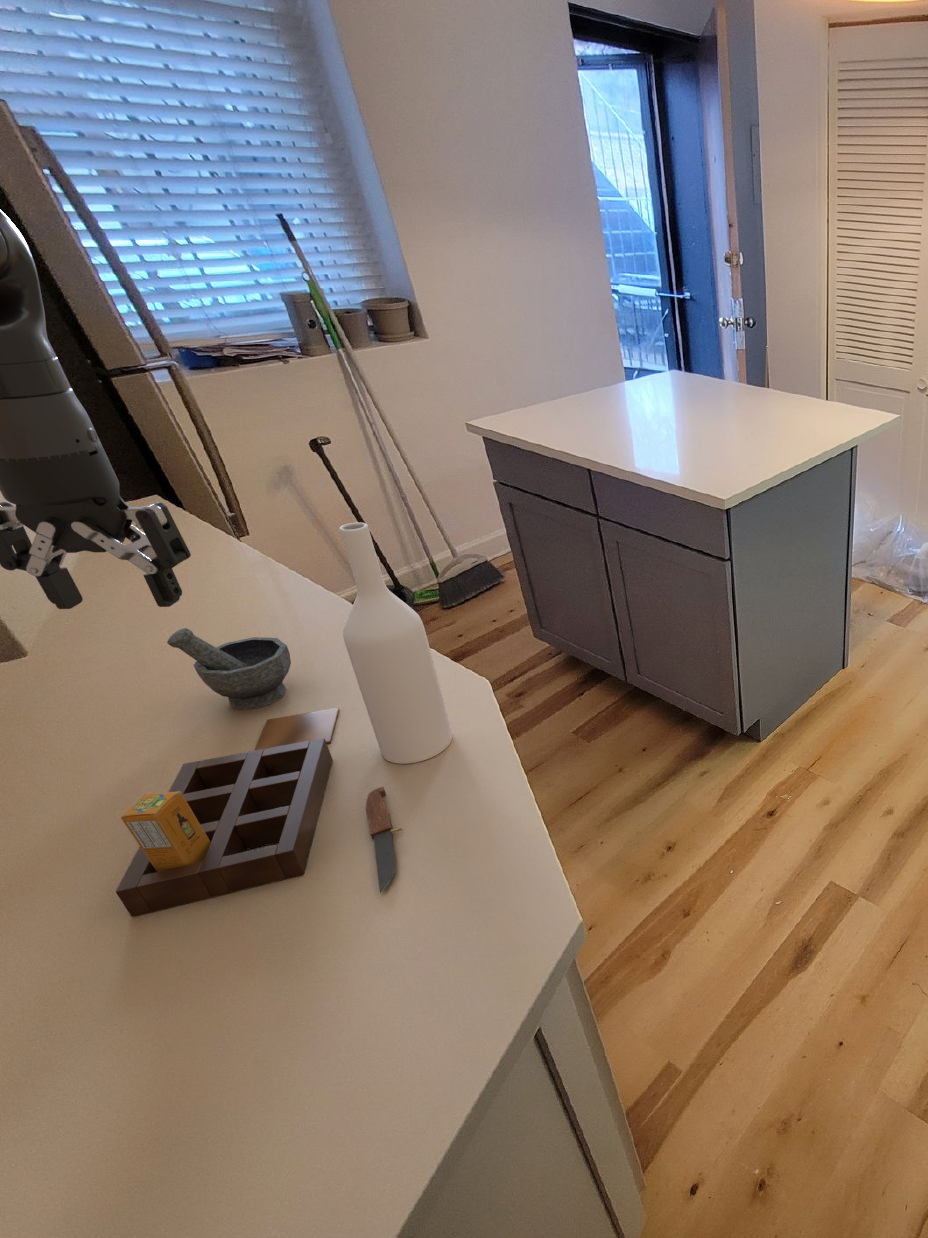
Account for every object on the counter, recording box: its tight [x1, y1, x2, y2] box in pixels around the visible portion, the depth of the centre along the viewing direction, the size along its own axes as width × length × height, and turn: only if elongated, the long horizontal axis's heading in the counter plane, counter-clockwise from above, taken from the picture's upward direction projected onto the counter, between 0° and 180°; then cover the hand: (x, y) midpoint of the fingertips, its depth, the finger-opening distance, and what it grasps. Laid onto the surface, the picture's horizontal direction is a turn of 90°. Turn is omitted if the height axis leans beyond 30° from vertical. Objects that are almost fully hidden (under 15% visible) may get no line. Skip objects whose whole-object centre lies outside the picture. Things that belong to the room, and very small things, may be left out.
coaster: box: [253, 707, 340, 751], centre depth 90 cm, size 8×8×1 cm
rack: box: [115, 738, 334, 918], centre depth 75 cm, size 14×20×4 cm
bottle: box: [338, 521, 453, 765], centre depth 82 cm, size 8×8×30 cm
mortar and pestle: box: [166, 627, 292, 710], centre depth 93 cm, size 11×9×12 cm
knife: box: [365, 786, 404, 894], centre depth 75 cm, size 17×1×3 cm
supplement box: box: [120, 791, 211, 872], centre depth 67 cm, size 3×3×10 cm
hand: (121, 604), depth 69 cm, fingers open, 8 cm apart
